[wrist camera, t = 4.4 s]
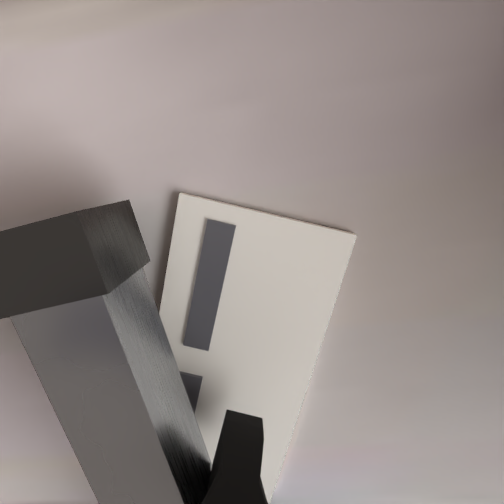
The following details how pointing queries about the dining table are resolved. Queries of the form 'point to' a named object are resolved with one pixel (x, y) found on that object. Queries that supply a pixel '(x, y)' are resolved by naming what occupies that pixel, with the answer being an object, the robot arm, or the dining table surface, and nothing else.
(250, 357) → the label card
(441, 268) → the dining table surface
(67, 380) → the swing arm
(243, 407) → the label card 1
